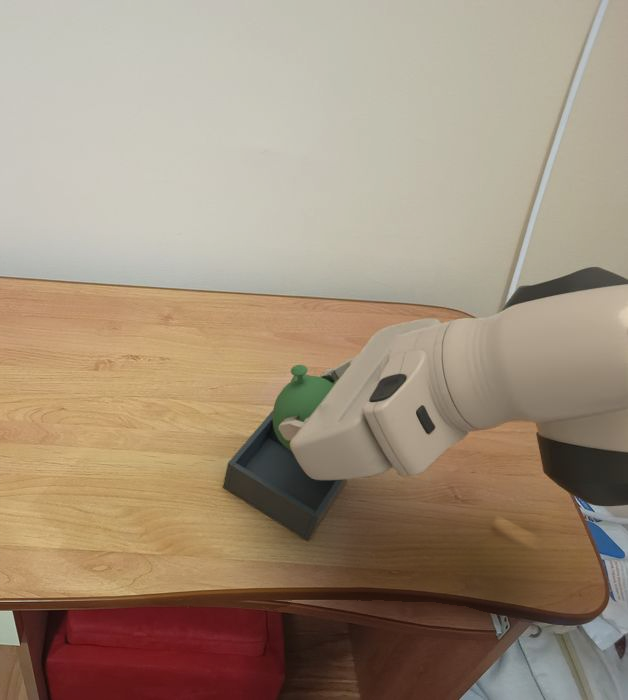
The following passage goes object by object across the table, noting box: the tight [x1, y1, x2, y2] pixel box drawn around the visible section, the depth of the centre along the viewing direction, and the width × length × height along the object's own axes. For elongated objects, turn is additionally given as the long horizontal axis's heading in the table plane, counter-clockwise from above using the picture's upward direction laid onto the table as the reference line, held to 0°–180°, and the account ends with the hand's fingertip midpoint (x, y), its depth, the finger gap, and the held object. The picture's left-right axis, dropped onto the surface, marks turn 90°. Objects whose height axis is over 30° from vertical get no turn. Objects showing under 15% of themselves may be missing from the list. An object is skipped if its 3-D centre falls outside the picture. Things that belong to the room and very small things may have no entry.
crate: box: [222, 410, 349, 542], centre depth 69 cm, size 11×10×4 cm
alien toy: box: [272, 364, 338, 451], centre depth 62 cm, size 7×8×10 cm
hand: (304, 404), depth 62 cm, fingers closed on alien toy, 7 cm apart
